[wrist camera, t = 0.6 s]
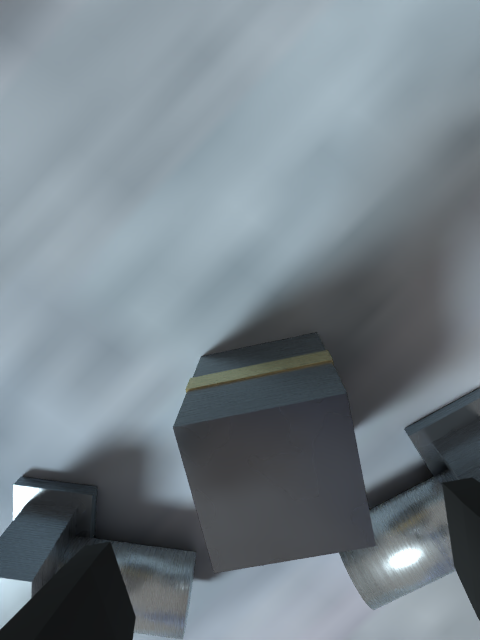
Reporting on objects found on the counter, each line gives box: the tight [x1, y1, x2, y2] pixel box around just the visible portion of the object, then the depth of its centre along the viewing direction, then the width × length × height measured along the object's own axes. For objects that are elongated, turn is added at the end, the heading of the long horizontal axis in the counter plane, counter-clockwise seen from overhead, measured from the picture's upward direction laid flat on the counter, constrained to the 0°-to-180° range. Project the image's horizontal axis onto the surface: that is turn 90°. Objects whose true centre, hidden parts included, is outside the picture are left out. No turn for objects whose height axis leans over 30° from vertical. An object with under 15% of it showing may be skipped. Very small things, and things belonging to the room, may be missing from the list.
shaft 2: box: [339, 388, 480, 610], centre depth 16 cm, size 8×6×4 cm
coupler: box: [173, 332, 376, 573], centre depth 15 cm, size 5×5×6 cm
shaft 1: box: [0, 477, 196, 639], centre depth 18 cm, size 8×6×4 cm
